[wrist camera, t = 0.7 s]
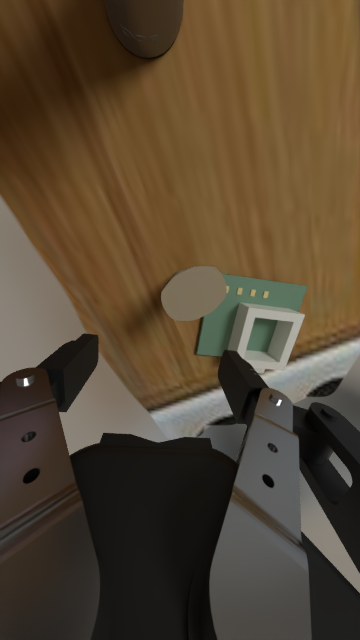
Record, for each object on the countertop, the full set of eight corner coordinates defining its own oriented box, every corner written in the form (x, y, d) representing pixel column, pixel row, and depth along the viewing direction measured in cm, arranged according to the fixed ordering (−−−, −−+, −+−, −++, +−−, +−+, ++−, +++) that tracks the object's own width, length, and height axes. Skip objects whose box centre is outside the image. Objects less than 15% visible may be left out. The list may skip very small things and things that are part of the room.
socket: (239, 302, 32) (249, 307, 28) (289, 308, 33) (305, 314, 29) (225, 359, 36) (232, 370, 32) (270, 363, 37) (282, 374, 33)
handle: (203, 284, 31) (233, 302, 17) (171, 299, 32) (175, 329, 18) (192, 258, 30) (215, 255, 16) (159, 275, 30) (152, 287, 16)
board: (211, 272, 31) (212, 272, 30) (303, 285, 33) (308, 286, 32) (196, 351, 36) (197, 354, 35) (277, 359, 38) (280, 362, 36)
